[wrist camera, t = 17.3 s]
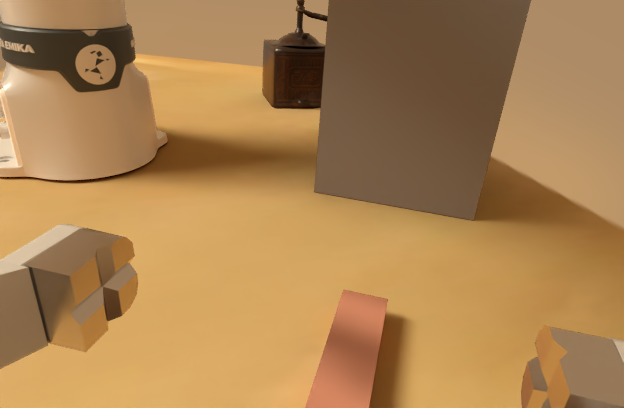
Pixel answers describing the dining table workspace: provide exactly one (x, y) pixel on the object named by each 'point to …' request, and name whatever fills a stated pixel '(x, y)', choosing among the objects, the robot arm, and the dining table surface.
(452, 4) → the shelf block
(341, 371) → the copper-colored stick
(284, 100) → the manual coffee grinder
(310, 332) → the dining table surface
